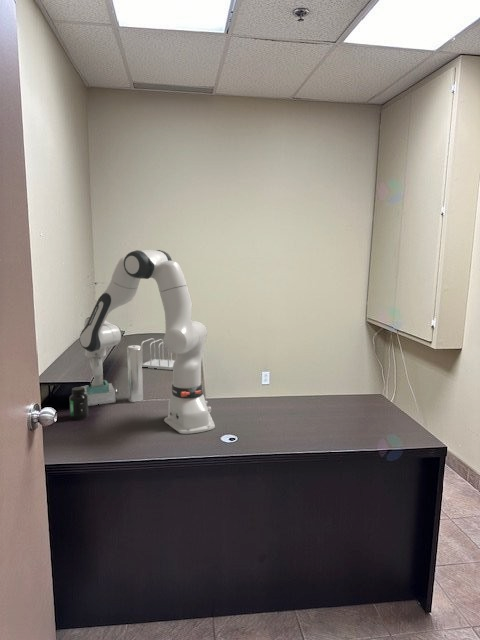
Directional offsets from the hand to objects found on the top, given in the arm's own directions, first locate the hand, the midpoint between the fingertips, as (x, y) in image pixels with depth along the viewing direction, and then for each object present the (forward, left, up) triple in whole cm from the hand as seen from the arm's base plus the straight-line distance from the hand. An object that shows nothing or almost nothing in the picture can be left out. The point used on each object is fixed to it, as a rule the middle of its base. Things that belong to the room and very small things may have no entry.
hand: (96, 381), depth 188 cm
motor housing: (0, 0, -9) cm, 9 cm away
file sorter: (+49, -44, -9) cm, 66 cm away
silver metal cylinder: (-7, -16, -9) cm, 19 cm away
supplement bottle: (-19, +9, -9) cm, 23 cm away
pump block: (0, 0, -3) cm, 3 cm away
